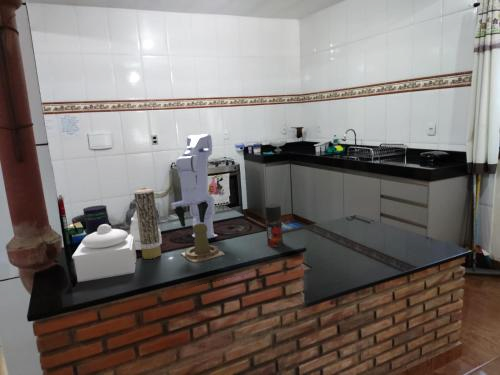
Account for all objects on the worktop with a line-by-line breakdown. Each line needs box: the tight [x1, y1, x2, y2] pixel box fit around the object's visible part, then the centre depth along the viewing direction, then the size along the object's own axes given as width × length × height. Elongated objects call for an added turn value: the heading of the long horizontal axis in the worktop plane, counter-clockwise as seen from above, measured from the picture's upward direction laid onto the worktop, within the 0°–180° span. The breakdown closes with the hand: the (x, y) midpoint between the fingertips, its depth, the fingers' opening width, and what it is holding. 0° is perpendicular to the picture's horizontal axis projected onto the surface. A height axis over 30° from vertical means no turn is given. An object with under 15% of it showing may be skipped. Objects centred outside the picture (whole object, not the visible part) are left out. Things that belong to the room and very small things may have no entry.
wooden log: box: [133, 188, 162, 260], centre depth 134 cm, size 7×7×25 cm
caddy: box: [180, 244, 225, 264], centre depth 133 cm, size 12×12×2 cm
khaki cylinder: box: [192, 224, 211, 254], centre depth 132 cm, size 6×6×11 cm
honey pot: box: [128, 210, 163, 251], centre depth 150 cm, size 13×13×18 cm
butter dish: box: [71, 223, 137, 283], centre depth 125 cm, size 18×18×16 cm
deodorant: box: [264, 203, 284, 248], centre depth 137 cm, size 6×6×15 cm
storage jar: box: [82, 205, 109, 236], centre depth 163 cm, size 10×10×15 cm
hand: (192, 224), depth 137 cm, fingers open, 7 cm apart
